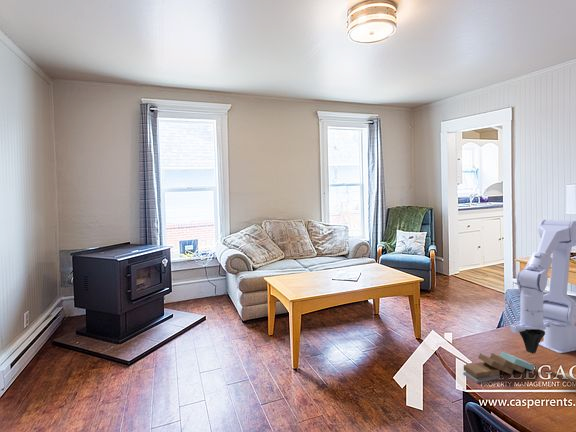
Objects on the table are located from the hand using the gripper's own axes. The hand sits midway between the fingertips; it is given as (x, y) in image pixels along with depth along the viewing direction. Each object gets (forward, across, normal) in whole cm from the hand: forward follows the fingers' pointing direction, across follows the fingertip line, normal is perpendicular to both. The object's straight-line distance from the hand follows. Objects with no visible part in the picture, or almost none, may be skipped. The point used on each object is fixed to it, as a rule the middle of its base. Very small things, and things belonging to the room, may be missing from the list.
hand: (531, 352), depth 106 cm
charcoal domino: (+4, -15, 0) cm, 16 cm away
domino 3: (+4, -6, 0) cm, 7 cm away
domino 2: (+4, -10, 0) cm, 10 cm away
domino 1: (+3, -14, 0) cm, 15 cm away
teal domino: (+4, -2, 0) cm, 4 cm away
